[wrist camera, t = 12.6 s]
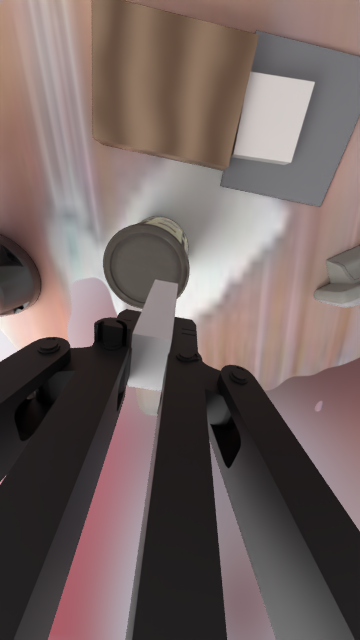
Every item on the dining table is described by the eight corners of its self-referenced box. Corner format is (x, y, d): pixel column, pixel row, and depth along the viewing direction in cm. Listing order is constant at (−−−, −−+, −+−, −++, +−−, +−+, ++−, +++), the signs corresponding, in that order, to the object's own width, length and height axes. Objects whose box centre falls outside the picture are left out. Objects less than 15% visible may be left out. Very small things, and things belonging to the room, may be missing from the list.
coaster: (230, 157, 32) (233, 154, 30) (245, 80, 28) (249, 71, 26) (284, 165, 32) (291, 162, 30) (306, 90, 28) (315, 81, 26)
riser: (103, 144, 32) (92, 137, 28) (104, 20, 26) (91, -8, 23) (223, 170, 33) (228, 166, 30) (249, 56, 27) (259, 34, 24)
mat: (220, 185, 34) (220, 185, 34) (255, 32, 26) (256, 30, 26) (318, 206, 35) (320, 206, 35) (379, 64, 27) (382, 62, 27)
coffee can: (132, 276, 41) (108, 308, 29) (127, 215, 36) (96, 222, 24) (187, 278, 41) (187, 311, 29) (190, 217, 36) (191, 225, 24)
